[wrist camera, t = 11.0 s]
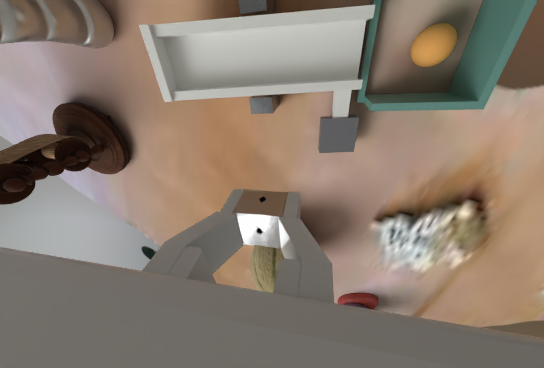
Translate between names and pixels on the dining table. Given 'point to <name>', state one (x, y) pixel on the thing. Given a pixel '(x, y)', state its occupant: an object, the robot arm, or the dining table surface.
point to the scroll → (62, 151)
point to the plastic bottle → (56, 22)
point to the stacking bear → (359, 300)
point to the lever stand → (252, 4)
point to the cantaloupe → (265, 266)
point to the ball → (433, 44)
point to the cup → (472, 67)
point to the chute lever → (266, 60)
